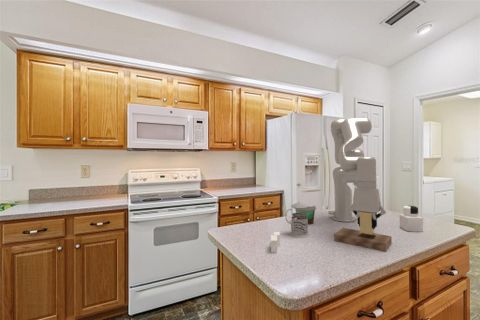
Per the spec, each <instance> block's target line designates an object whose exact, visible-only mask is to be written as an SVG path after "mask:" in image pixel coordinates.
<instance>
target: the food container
mask: <svg viewBox="0 0 480 320" xmlns="http://www.w3.org/2000/svg"><path fill="white" fill-rule="evenodd" d="M307 206H308V205H307ZM293 209H294V210H295V213H299V212H300V213H304V214H306V215H307V216H305V217H307V218H308V225H312V224H314V223H315V222H314V221H315V212H316V210H317V208H316V205H314V206H308V207H307V208H306V209H296V208H293ZM296 219H299V220H302V219H300V218H296ZM302 224H303V223H302Z"/></svg>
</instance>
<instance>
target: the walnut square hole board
mask: <svg viewBox="0 0 480 320" xmlns="http://www.w3.org/2000/svg"><path fill="white" fill-rule="evenodd" d="M333 236H334V237H333V238H334V239H333V240H334V242H339V243H344V244H349V245H353V246H357V247H363V248H366V249H367V248H368V249H372V250H378V251H382V252H387V251H388V249H389V248H390V246H391V245H392V244H393V243H392V239H393V237H392V236H391V235H387V234H381V233H375V232H374V233H373V234H372V235H371V234H365V233H360V229H351V228H348V227H347V228H346V227H342V228H340V229H339V230H338V231H336V232H335V233H333Z"/></svg>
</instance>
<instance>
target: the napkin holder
mask: <svg viewBox="0 0 480 320" xmlns="http://www.w3.org/2000/svg"><path fill="white" fill-rule="evenodd" d="M280 235H281V234H280V231H273V234H271V236H270V253H271V252H273V253H272V254H274V253H275V254H277V253H278V248H279V247H281V244H280V243H281V242H280V241H281V240H280V238H281V236H280Z"/></svg>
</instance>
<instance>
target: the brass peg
mask: <svg viewBox="0 0 480 320" xmlns="http://www.w3.org/2000/svg"><path fill="white" fill-rule="evenodd" d="M372 219H373V216H372V213H369V212H361V211H360V227H359V231H360V233H365V234H371V235H372V234H373V233H375V229H372Z"/></svg>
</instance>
